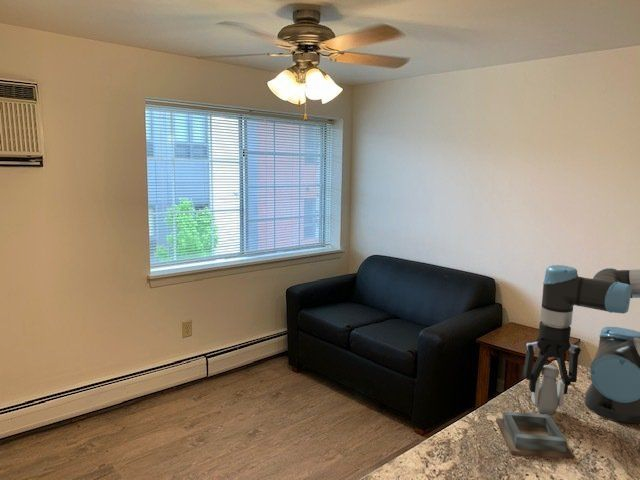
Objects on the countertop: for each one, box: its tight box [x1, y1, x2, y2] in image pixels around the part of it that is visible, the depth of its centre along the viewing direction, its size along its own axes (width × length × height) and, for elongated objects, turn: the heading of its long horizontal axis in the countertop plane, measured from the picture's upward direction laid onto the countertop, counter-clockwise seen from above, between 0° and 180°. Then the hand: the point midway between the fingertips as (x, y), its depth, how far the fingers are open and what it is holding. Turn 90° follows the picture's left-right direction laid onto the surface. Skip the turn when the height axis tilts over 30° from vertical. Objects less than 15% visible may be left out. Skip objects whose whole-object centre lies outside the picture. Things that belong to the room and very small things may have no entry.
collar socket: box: [495, 411, 575, 460], centre depth 116 cm, size 14×14×4 cm
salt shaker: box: [535, 364, 560, 416], centre depth 128 cm, size 6×6×13 cm
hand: (546, 403), depth 128 cm, fingers closed on salt shaker, 6 cm apart
